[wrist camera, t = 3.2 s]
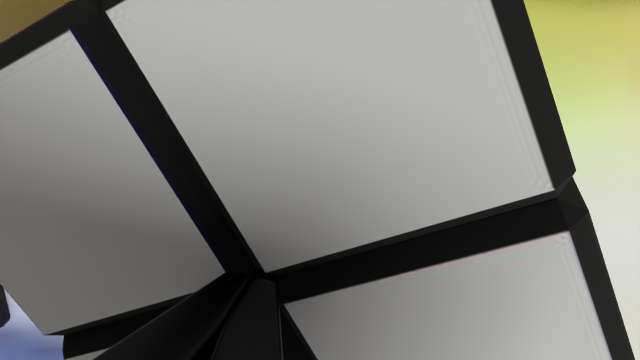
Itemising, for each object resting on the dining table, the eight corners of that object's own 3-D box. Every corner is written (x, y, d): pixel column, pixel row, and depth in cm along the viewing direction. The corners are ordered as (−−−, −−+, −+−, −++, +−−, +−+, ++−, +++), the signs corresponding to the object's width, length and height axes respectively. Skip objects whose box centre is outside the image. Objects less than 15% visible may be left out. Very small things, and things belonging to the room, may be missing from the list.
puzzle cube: (146, 12, 17) (-150, 129, 8) (443, -153, 14) (453, -241, 5) (286, 252, 21) (178, 508, 12) (552, 173, 17) (669, 457, 8)
